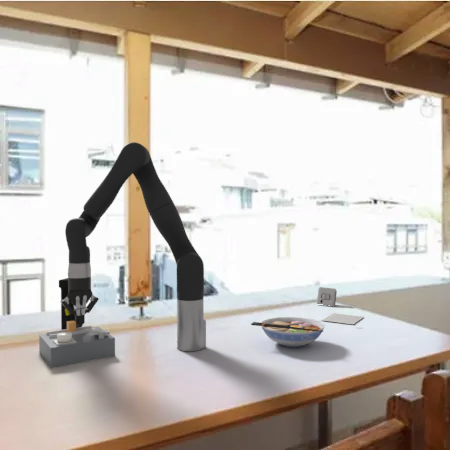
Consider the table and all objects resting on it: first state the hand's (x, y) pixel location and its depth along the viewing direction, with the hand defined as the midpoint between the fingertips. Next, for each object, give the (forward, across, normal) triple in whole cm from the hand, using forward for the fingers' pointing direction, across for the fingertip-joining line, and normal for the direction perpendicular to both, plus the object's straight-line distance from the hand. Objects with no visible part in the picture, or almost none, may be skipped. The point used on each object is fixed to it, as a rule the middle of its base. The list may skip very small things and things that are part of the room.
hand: (80, 325), depth 151 cm
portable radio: (+8, 0, +15) cm, 17 cm away
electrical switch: (+8, +126, +5) cm, 127 cm away
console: (+8, -2, -5) cm, 10 cm away
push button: (+2, -8, -10) cm, 13 cm away
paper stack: (+8, +108, -27) cm, 111 cm away
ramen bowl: (+8, +65, -37) cm, 75 cm away
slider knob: (+2, -3, 0) cm, 4 cm away
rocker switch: (0, +4, -10) cm, 11 cm away
